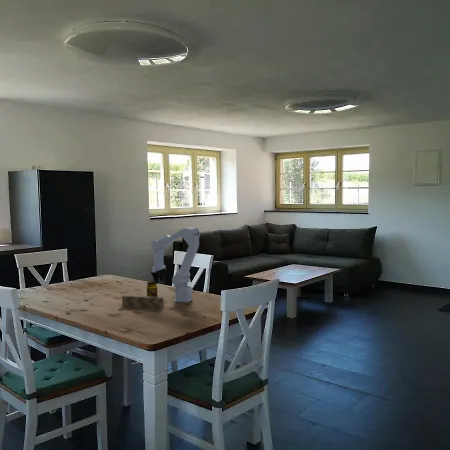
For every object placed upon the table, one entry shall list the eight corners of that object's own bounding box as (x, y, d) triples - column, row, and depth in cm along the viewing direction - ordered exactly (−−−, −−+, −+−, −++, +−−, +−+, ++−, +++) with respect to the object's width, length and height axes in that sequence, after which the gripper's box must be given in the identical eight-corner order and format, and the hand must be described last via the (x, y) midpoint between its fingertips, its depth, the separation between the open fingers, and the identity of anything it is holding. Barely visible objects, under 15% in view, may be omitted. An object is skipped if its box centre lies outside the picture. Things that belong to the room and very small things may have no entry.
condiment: (156, 303, 253) (156, 283, 252) (142, 303, 254) (141, 283, 253) (159, 300, 260) (159, 280, 259) (145, 300, 261) (145, 280, 260)
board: (163, 308, 243) (163, 297, 242) (161, 309, 240) (161, 298, 240) (124, 305, 250) (124, 294, 249) (122, 306, 248) (122, 295, 247)
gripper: (157, 258, 274) (158, 279, 275) (147, 261, 261) (147, 284, 261) (168, 258, 272) (168, 280, 273) (157, 261, 258) (158, 284, 259)
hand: (159, 282), depth 267 cm, fingers open, 6 cm apart
